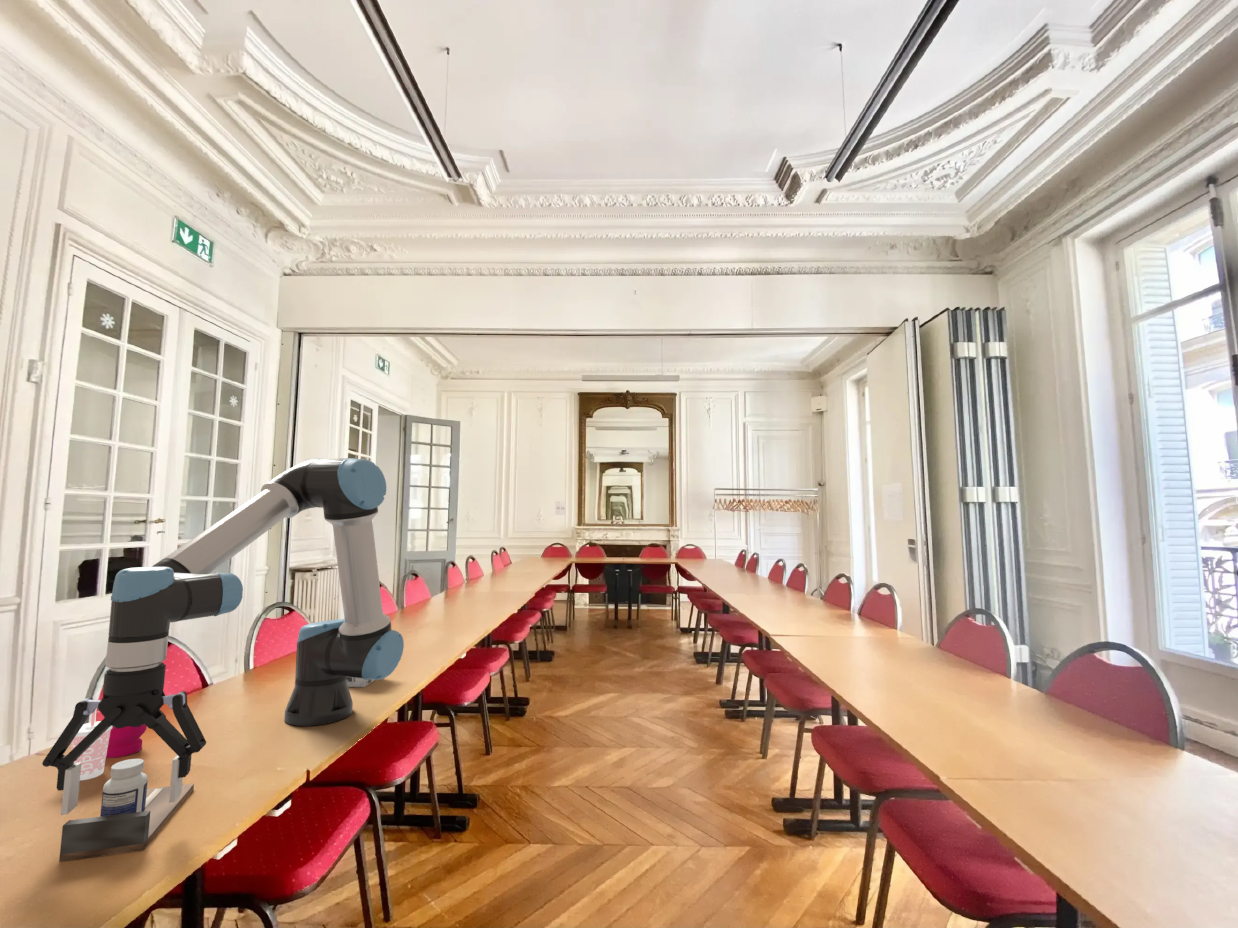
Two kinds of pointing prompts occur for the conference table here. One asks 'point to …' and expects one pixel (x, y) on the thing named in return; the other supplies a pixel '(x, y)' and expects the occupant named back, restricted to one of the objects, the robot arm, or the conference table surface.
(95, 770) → the beverage cup
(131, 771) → the pill bottle
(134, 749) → the pepper mill
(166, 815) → the board
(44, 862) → the conference table surface
